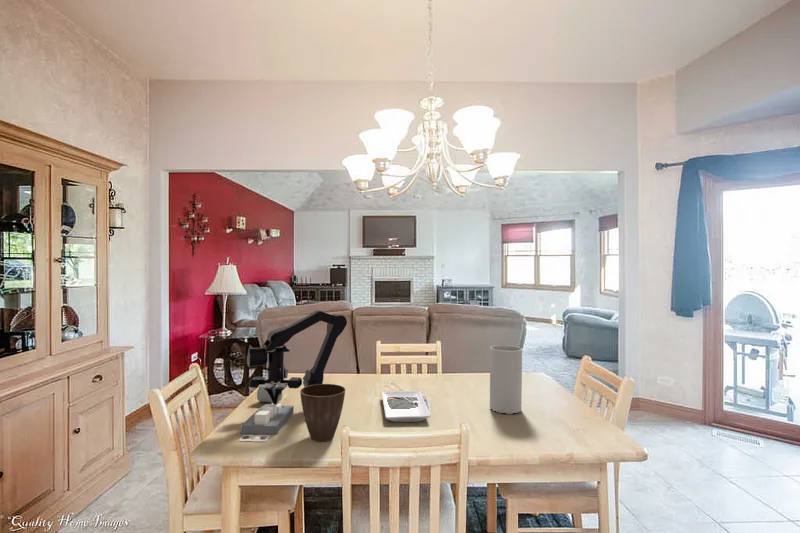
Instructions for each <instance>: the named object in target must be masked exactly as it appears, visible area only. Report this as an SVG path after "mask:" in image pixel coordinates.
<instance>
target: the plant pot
mask: <svg viewBox="0 0 800 533" xmlns="http://www.w3.org/2000/svg"><path fill="white" fill-rule="evenodd" d="M299 394H300V399H301V400H300V402H301V408H302V412H303V413H302V414H303V417H304V421H305V424H306V428H307V431H308V434H309V437H310V439H311V440H312V441H313V442H318V443H319V442H320V443H322V442H328V441H331V440H333V438H334V436H335V434H336V431H337V428H338V425H339V423H340V422H339V421H340V419H341V415H342V412H343V411H342V410H343V406H344V401H345V396H346V388H345V386H342V385H339V384H333V383H323V384H316V385H310V386H306V387H304V386H303V387H301V389H300V390H299Z"/></svg>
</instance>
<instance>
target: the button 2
mask: <svg viewBox="0 0 800 533" xmlns="http://www.w3.org/2000/svg"><path fill="white" fill-rule="evenodd" d="M271 404H273V403H271ZM282 406H283V403H279V402H278V403H277V405H276V411H280V410H281V409H282Z"/></svg>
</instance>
